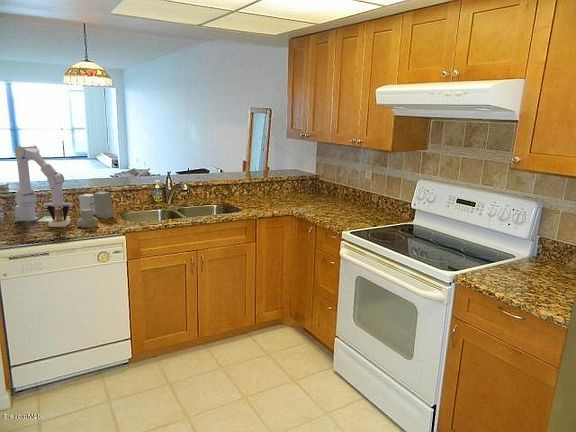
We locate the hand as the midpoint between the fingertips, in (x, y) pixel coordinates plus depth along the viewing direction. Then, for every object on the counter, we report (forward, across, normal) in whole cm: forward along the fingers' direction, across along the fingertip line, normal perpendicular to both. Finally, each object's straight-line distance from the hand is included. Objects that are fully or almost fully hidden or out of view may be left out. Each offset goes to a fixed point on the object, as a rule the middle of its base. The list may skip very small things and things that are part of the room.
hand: (59, 219), depth 239 cm
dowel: (+3, 0, 0) cm, 3 cm away
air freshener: (+4, +16, -4) cm, 17 cm away
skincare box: (+4, +19, +19) cm, 27 cm away
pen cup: (+4, 0, 0) cm, 4 cm away
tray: (+4, -7, +12) cm, 14 cm away
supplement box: (+4, +8, +27) cm, 28 cm away
